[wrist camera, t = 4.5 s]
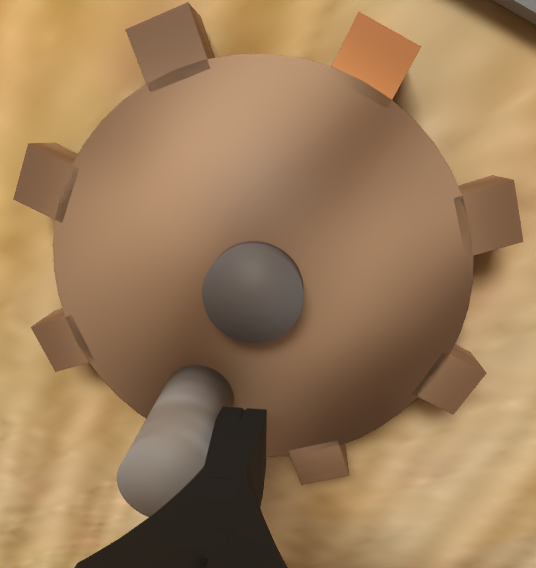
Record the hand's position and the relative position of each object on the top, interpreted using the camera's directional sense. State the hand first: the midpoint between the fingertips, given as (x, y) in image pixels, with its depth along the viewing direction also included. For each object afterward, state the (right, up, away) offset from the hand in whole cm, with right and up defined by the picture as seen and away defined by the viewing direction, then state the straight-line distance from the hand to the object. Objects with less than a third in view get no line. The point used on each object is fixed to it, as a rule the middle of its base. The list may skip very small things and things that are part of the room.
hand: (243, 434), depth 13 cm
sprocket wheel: (+1, +5, +2) cm, 5 cm away
